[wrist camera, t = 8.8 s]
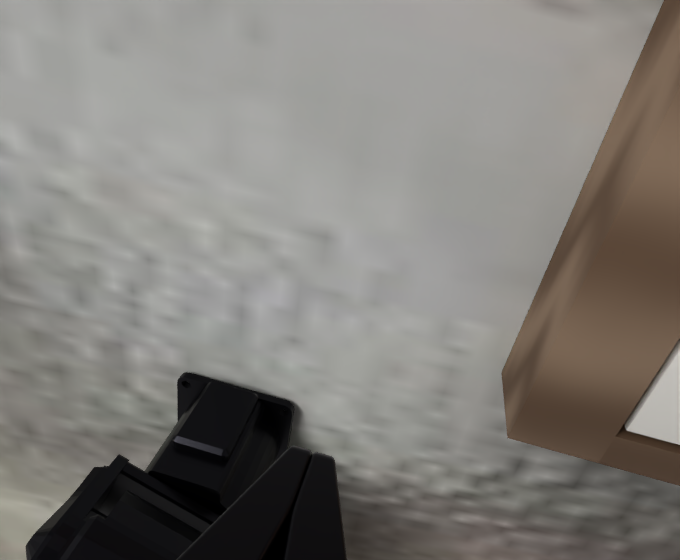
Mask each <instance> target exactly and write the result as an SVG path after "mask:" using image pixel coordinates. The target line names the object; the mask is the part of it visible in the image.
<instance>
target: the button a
mask: <svg viewBox="0 0 680 560" xmlns="http://www.w3.org/2000/svg"><path fill="white" fill-rule="evenodd" d="M624 425H625V428H626V431H630V432H634V433H638V434H641V435H645V436H649V437H652V438H656V439H660V440H663V441H667V442H671V443H674V444H678V445H680V338H679V340H678V341H677V343H676V344H675V346H674V347H673V349H672V350H671V352H670V354H669V355H668V357H667V358H666V360H665V361H664V363H663V364H662V366H661V367H660V369H659V370H658V372H657V373H656V375H655V377H654V378H653V380H652V381H651V383H650V384H649V386H648V387H647V389H646V390H645V392H644V393H643V395H642V397H641V398H640V400H639V401H638V403H637V404H636V406H635V407H634V409H633V410H632V412H631V413H630V415H629V417H628V418H627V420H626V421H625V423H624Z"/></svg>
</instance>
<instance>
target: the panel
mask: <svg viewBox="0 0 680 560" xmlns="http://www.w3.org/2000/svg"><path fill="white" fill-rule="evenodd" d="M679 338H680V0H664V2H663V4H662V6H661V9H660V11H659V13H658V16H657V18H656V20H655V22H654V25H653V27H652V29H651V32H650V34H649V36H648V39H647V41H646V43H645V45H644V48H643V50H642V52H641V55H640V57H639V59H638V61H637V64H636V66H635V68H634V71H633V73H632V75H631V77H630V80H629V82H628V84H627V87H626V89H625V91H624V94H623V96H622V98H621V100H620V103H619V105H618V107H617V110H616V112H615V114H614V116H613V119H612V121H611V123H610V126H609V128H608V130H607V132H606V135H605V137H604V139H603V142H602V144H601V146H600V148H599V151H598V153H597V155H596V158H595V160H594V162H593V165H592V167H591V169H590V171H589V174H588V176H587V178H586V181H585V183H584V185H583V187H582V190H581V192H580V194H579V197H578V199H577V201H576V203H575V206H574V208H573V210H572V213H571V215H570V217H569V220H568V222H567V224H566V226H565V229H564V231H563V233H562V236H561V238H560V240H559V242H558V245H557V247H556V249H555V252H554V254H553V256H552V258H551V261H550V263H549V265H548V268H547V270H546V272H545V275H544V277H543V279H542V281H541V284H540V286H539V288H538V291H537V293H536V295H535V297H534V300H533V302H532V304H531V307H530V309H529V311H528V313H527V316H526V318H525V320H524V323H523V325H522V327H521V329H520V332H519V334H518V336H517V339H516V341H515V343H514V346H513V348H512V350H511V352H510V355H509V357H508V359H507V362H506V364H505V366H504V368H503V371H502V382H503V393H504V404H505V415H506V425H507V436H508V438H510V439H514V440H517V441H521V442H524V443H528V444H532V445H535V446H539V447H542V448H546V449H550V450H553V451H557V452H560V453H564V454H568V455H571V456H575V457H578V458H582V459H586V460H589V461H593V462H596V463H600V464H604V465H607V466H611V467H614V468H618V469H621V470H625V471H629V472H632V473H636V474H639V475H643V476H647V477H650V478H654V479H657V480H661V481H665V482H668V483H672V484H675V485H679V486H680V445H678V444H674V443H671V442H667V441H663V440H660V439H656V438H652V437H649V436H645V435H641V434H638V433H634V432H630V431H626V428H625V425H624V423H625V421H626V420H627V418H628V417H629V415H630V413H631V412H632V410H633V409H634V407H635V406H636V404H637V403H638V401H639V400H640V398H641V397H642V395H643V393H644V392H645V390H646V389H647V387H648V386H649V384H650V383H651V381H652V380H653V378H654V377H655V375H656V373H657V372H658V370H659V369H660V367H661V366H662V364H663V363H664V361H665V360H666V358H667V357H668V355H669V354H670V352H671V350H672V349H673V347H674V346H675V344H676V343H677V341H678V340H679Z"/></svg>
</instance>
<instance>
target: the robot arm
mask: <svg viewBox="0 0 680 560" xmlns="http://www.w3.org/2000/svg"><path fill="white" fill-rule="evenodd" d="M188 382H189V383H188ZM177 388H178V422H177V424H176V425H175V427H174V428H173V430H172V431H171V433H170V434H169V436H168V437H167V439H166V440H165V442H164V443H163V445H162V446H161V448H160V449H159V451H158V452H157V454H156V455H155V457H154V458H153V460H152V461H151V463H150V464H149V466H148V467H147V469H146V470H145V471H143V470H141V469H140V468H138V467H136V466H134V465H133V464H131V463H129V462H128V461H129V460H128V459H127V458H125V457H123V456H121V455H120V454H119V455H118V456H117V457H116V458H115V460H114V461H113V462H112V463H111V464H110V466H107V467H106V466H104V467H94V468H93V470H92V471H91V472H90V473H89V475H88V476H87V477H86V478H85V480H84V481H83V482H82V484H81V485H80V486H79V487H78V489H77V490H76V491H75V492H74V493H73V495H72V496H71V497H70V498H69V499H68V500H67V501H66V502H65V503H64V504H63V505H62V506H61V507H60V508H59V509H58V510H57V511H56V512H55V513H54V514H53V515H52V516H51V517H50V518H49V519H48V520H47V521H46V522H45V523H44V524H43V525H42V526H41V527H40V528H39V529H38V531H37V532H36V533H35V534H34V535H33V536H32V538H31V539H30V540H29V542H28V543H27V545H26V557H27V560H347V557H346V548H345V540H344V532H343V524H342V515H341V507H340V499H339V491H338V482H337V474H336V466H335V460H334V458H333V457H332V456H329V455H325V454H322V453H318V452H315V453H313V454H312V452H311V451H310V450H308V449H305V448H301V447H298V446H291V447H290V448H288V446H289V440H290V433H291V427H292V421H293V415H294V406H293V404H292V403H291V402H289V401H287V400H284V399H280V398H277V397H273V396H270V395H266V394H263V393H259V392H256V391H252V390H249V389H245V388H241V387H238V386H234V385H231V384H227V383H224V382H220V381H217V380H213V379H210V378H206V377H203V376H199V375H196V374H192V373H187V372H186V373H183V374H182V375H181V376H180V378H179V379H178V382H177ZM283 409H285V410H283Z"/></svg>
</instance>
